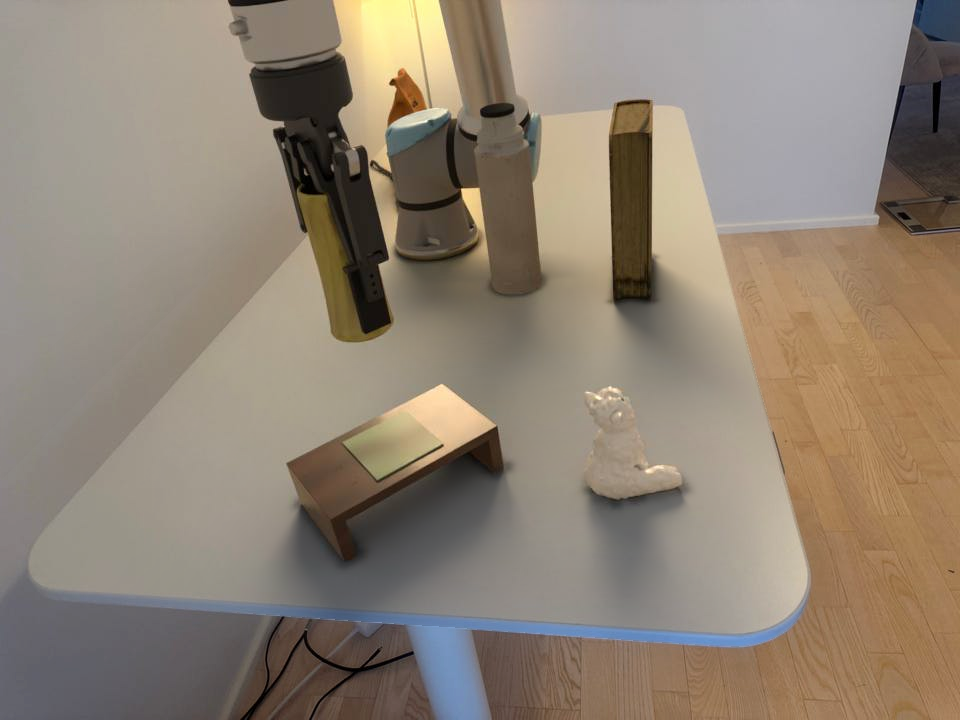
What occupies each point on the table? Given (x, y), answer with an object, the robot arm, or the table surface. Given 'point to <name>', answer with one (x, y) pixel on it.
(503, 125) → the thermos bottle
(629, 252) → the book
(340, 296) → the vase
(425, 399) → the shelf
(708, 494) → the table surface
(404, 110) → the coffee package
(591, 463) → the white creature statuette
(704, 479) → the table surface
